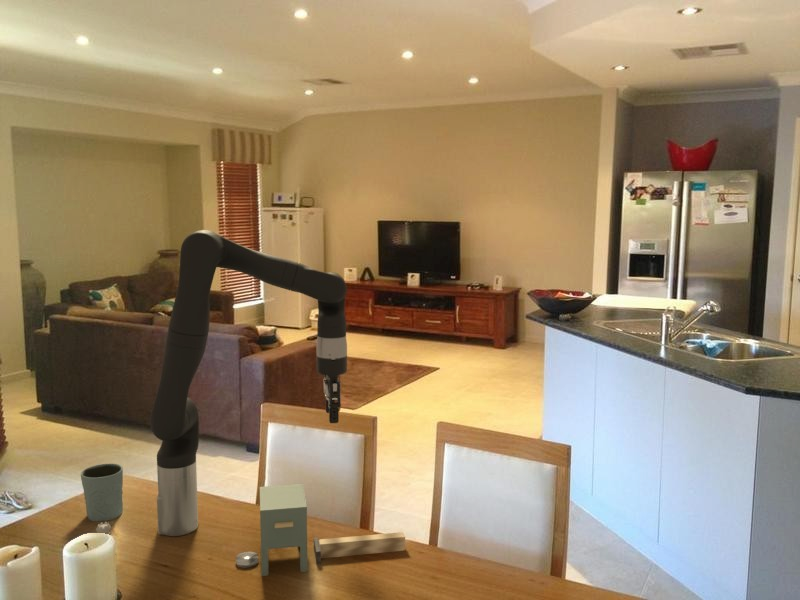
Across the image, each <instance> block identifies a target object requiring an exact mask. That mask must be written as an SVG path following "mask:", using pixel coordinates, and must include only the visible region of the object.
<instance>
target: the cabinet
mask: <svg viewBox="0 0 800 600" xmlns="http://www.w3.org/2000/svg"><path fill="white" fill-rule="evenodd" d="M307 506H308V505H307V501H306V495H305V488H304V484H303V483H295V484H293V483H292V484H282V485H280V484H279V485H268V486H267V485H266V486H260V487H259V510H260V513H259V518H260V519H259V520H260V521H259V522H260V565H261V566H260V567H261V570H260V571H261V572H260V573H261V576H262V577H263V576H264V577H266V576H269V550H276V549H287V548H299V563H300V564H299V565H300V566H299V567H300V569H299V570H300V572H301V573H304V572H305V573H306V572H308V570H309V569H308V507H307Z"/></svg>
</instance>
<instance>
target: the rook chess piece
mask: <svg viewBox="0 0 800 600" xmlns="http://www.w3.org/2000/svg"><path fill="white" fill-rule="evenodd" d="M111 529H112V526H111V524H110V522H107V521H104V522H100V523H98V524H97V527H96V528H95V531H96V532H97V533H105V534H109V535H110V536H111V534H112V533H111V532H110V530H111Z"/></svg>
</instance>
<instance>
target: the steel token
mask: <svg viewBox="0 0 800 600" xmlns="http://www.w3.org/2000/svg"><path fill="white" fill-rule="evenodd" d="M257 564H259V554H258V553H256V552H255V551H243V552H240V553H238V554H237V555H236V556H235V565H236V566H237V567H238V566H239V567H238V568H241V567H242V568H243V569H247V567H249V568H252V567H256V565H257ZM242 568H241V569H242Z"/></svg>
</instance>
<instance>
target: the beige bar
mask: <svg viewBox="0 0 800 600" xmlns="http://www.w3.org/2000/svg"><path fill="white" fill-rule="evenodd" d="M313 550H314V557H315V563H316V565H318V564H322V560H321V559H327V558H340V557H348V556H349V557H350V556H358V555H359V556H360V555H361V556H362V555H370V554H380V553H381V554H384V553H392V552H402V551H406V536H405V533H404V532H402V531H401V532H391V533H390V532H389V533H380V534H379V533H377V534H366V535H365V534H364V535H357V536H355V535H354V536H344V537H333V538H332V537H331V538H321V539H319V536H315V537H313Z"/></svg>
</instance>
